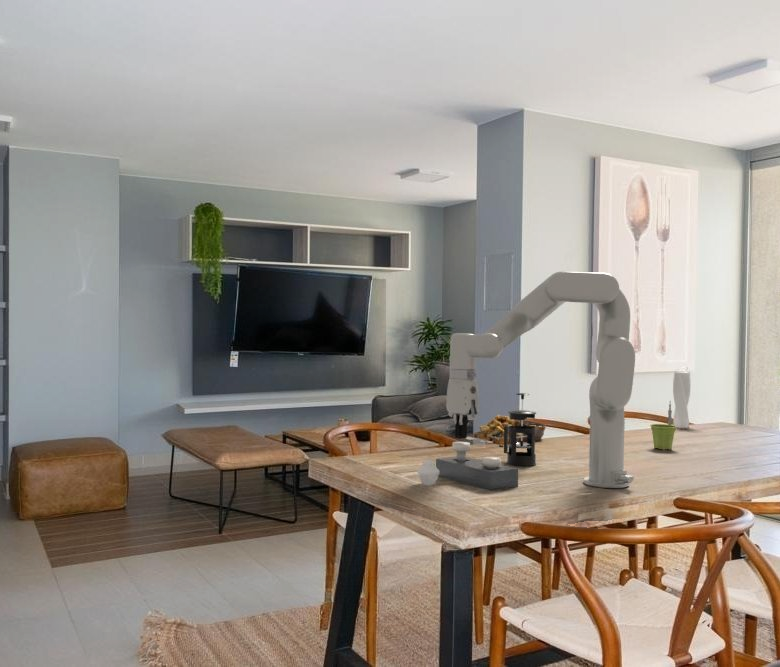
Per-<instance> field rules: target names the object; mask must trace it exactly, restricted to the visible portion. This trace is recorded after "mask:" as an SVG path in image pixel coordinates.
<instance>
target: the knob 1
mask: <svg viewBox="0 0 780 667" xmlns="http://www.w3.org/2000/svg"><path fill="white" fill-rule="evenodd" d="M451 448H452V449H451V450H452V451H455V452H456V457H457V461H459V462H463V461H466V457H467V455H466V454H467V453H466V452H470V451H471V443H470V442H468V441H453V442H452V447H451Z"/></svg>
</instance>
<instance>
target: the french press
mask: <svg viewBox="0 0 780 667" xmlns="http://www.w3.org/2000/svg"><path fill="white" fill-rule="evenodd" d="M515 395H516V396H520V400H521V410H517V409H516V410H509V411H508V414H509V417H510V419H512V421H513V420H522V422H521V426H505V427H504V444H503V453H504V454H507V457H506V458H507V461H506V465H508V466H510V467H519V468H532V467H535V466H537V463H536V458H537V457H536V456H537V455H536V454H535V450H536V448H535V447H536V444H535V443H536V440H535V432H536V427H532V426H533V425H532V426H523V420H527V419H532V420H533V419H535V418H536V415H537V412H536V411H530V410H524V399H525V396H529V395H530V394H529V393H525V392H517V393H516V394H515ZM508 431H509V444H508ZM516 433H521V441H520V442H517V443H516ZM522 433H527V442H523V441H522ZM517 449H526V451H517Z"/></svg>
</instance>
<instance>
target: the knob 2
mask: <svg viewBox="0 0 780 667" xmlns="http://www.w3.org/2000/svg"><path fill="white" fill-rule="evenodd" d="M481 460H482V466H486V467H487V468H489V469H495V468H496V467H500V466H501V465H502V458H501V457H498V456H483V457H482V458H481Z"/></svg>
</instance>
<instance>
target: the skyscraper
mask: <svg viewBox="0 0 780 667" xmlns="http://www.w3.org/2000/svg"><path fill="white" fill-rule="evenodd" d="M682 368H684V369H685V370H684V369H682ZM688 369H689V367H688V366H678V367H677V368H676V369H675V370H674V371H673V380H672V381H673V382H672V384H673V385H672V392H673V393H672V394H673V401H674V406H675V408H674V413H673V410H672V404H671V400H669V404H668V406H669V407H668V408H669V409H668V410H667V413H668V417H667V425H674V426H677V428H679V429H687V428H690V422H689V412H688V411H689V410H688V405H689V401H690V395H691V371H689V370H688ZM672 413H673V414H674V415H673V419H672ZM672 420H673V421H672ZM677 428H676V429H677Z"/></svg>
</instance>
